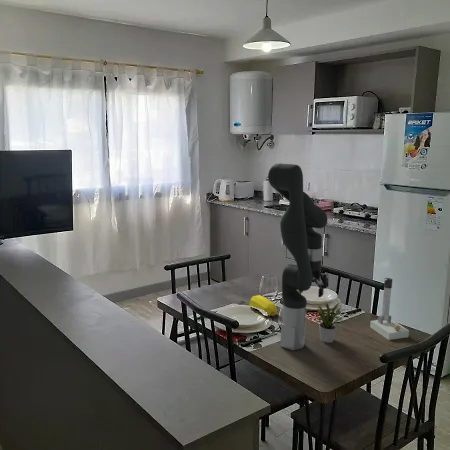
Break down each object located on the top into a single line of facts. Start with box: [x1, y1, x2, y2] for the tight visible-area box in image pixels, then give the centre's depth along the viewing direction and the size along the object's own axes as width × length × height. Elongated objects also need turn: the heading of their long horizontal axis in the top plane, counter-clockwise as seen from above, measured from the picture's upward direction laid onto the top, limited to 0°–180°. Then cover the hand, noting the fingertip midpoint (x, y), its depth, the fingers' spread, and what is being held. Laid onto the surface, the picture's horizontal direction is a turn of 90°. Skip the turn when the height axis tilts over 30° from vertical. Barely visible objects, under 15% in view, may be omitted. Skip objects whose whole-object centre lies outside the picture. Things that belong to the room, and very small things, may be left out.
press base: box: [369, 314, 410, 341], centre depth 197 cm, size 13×10×6 cm
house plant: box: [315, 300, 349, 343], centre depth 188 cm, size 14×14×16 cm
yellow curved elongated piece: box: [249, 294, 278, 317], centre depth 217 cm, size 18×7×8 cm
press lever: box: [381, 277, 393, 321], centre depth 198 cm, size 3×3×19 cm
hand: (310, 294), depth 192 cm, fingers open, 8 cm apart
